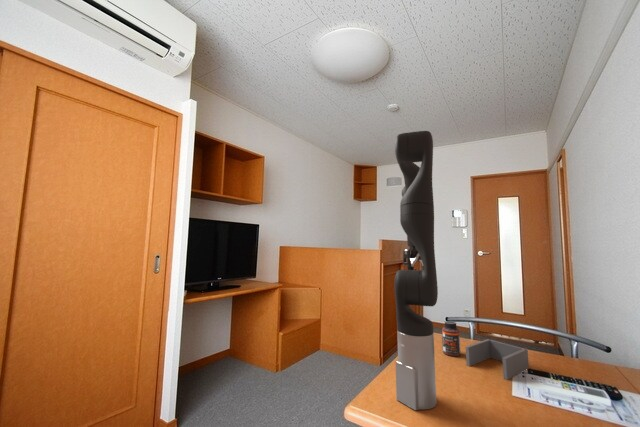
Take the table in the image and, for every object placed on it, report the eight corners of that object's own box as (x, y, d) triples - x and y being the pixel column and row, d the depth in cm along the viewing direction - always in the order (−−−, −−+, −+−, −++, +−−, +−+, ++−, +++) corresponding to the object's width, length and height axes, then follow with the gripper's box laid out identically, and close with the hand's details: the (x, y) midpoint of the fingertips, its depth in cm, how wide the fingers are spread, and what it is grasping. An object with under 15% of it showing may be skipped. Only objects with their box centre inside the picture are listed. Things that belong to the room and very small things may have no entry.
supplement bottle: (444, 355, 104) (442, 323, 105) (442, 350, 109) (440, 319, 111) (462, 357, 102) (460, 324, 103) (459, 351, 108) (457, 320, 109)
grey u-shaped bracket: (507, 380, 85) (505, 358, 86) (466, 365, 96) (465, 346, 96) (529, 368, 93) (527, 349, 94) (489, 356, 103) (488, 338, 104)
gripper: (412, 233, 107) (414, 277, 105) (436, 234, 114) (438, 275, 112) (397, 234, 113) (398, 276, 111) (420, 235, 121) (422, 274, 119)
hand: (418, 275), depth 112 cm, fingers open, 8 cm apart
